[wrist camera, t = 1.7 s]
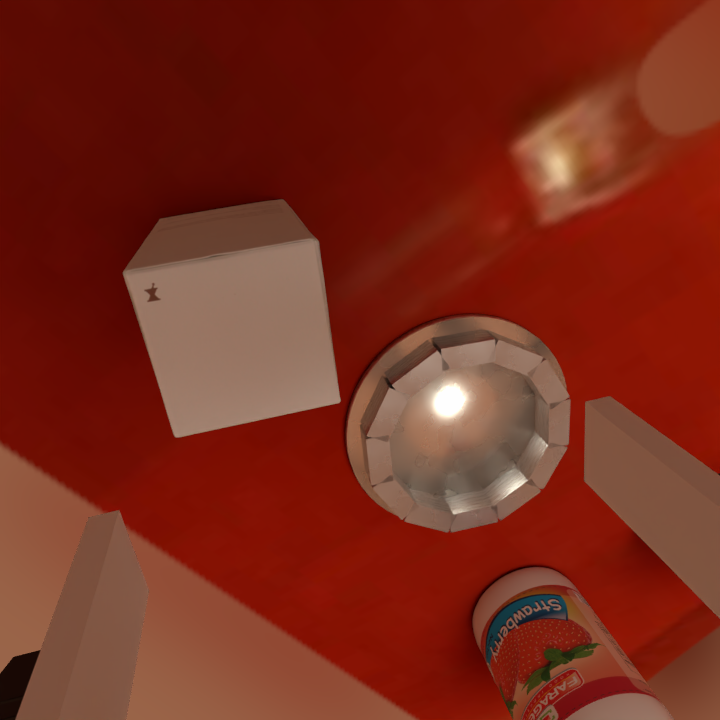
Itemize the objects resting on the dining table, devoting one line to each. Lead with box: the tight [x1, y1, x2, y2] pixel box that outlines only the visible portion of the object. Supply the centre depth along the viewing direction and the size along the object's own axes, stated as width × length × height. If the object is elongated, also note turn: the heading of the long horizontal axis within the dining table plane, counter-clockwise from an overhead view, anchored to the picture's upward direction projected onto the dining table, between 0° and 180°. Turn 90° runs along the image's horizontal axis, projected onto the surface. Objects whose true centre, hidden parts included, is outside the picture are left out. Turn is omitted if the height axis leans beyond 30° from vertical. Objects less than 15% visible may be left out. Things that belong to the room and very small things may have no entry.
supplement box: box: [123, 199, 341, 438], centre depth 29 cm, size 7×7×13 cm
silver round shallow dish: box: [345, 314, 570, 532], centre depth 40 cm, size 16×16×3 cm
